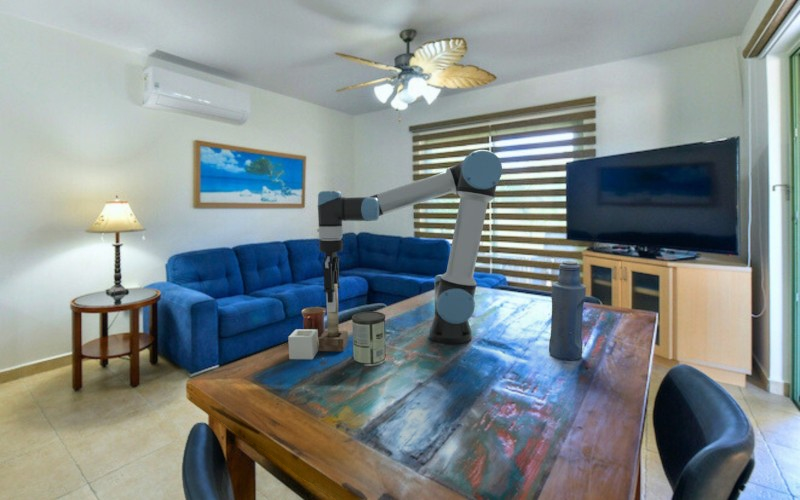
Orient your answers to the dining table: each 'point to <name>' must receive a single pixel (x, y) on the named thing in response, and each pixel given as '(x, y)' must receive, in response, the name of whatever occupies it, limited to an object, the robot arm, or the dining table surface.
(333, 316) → the dowel
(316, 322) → the mug
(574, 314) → the bottle
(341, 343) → the socket block
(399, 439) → the dining table surface
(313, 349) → the white hollow square frame
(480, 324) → the dining table surface
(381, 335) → the coffee can
